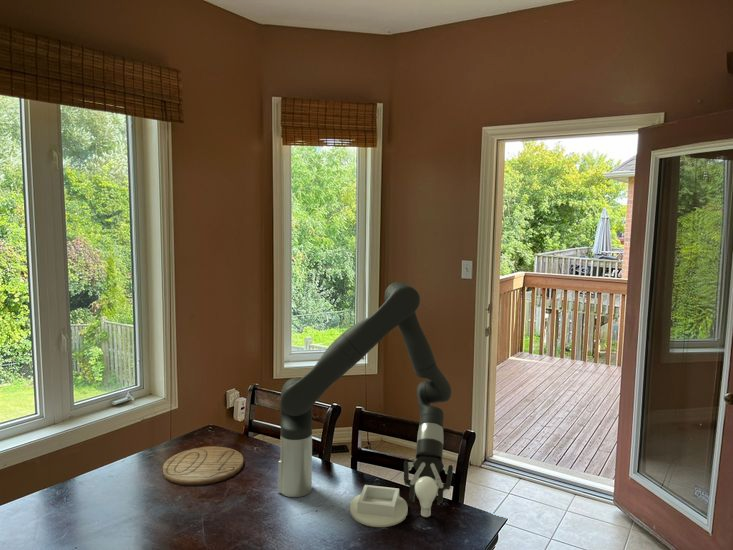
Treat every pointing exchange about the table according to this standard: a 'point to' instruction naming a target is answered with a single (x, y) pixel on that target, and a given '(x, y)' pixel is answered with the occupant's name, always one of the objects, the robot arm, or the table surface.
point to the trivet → (202, 465)
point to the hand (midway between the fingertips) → (425, 502)
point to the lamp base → (379, 506)
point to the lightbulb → (426, 493)
